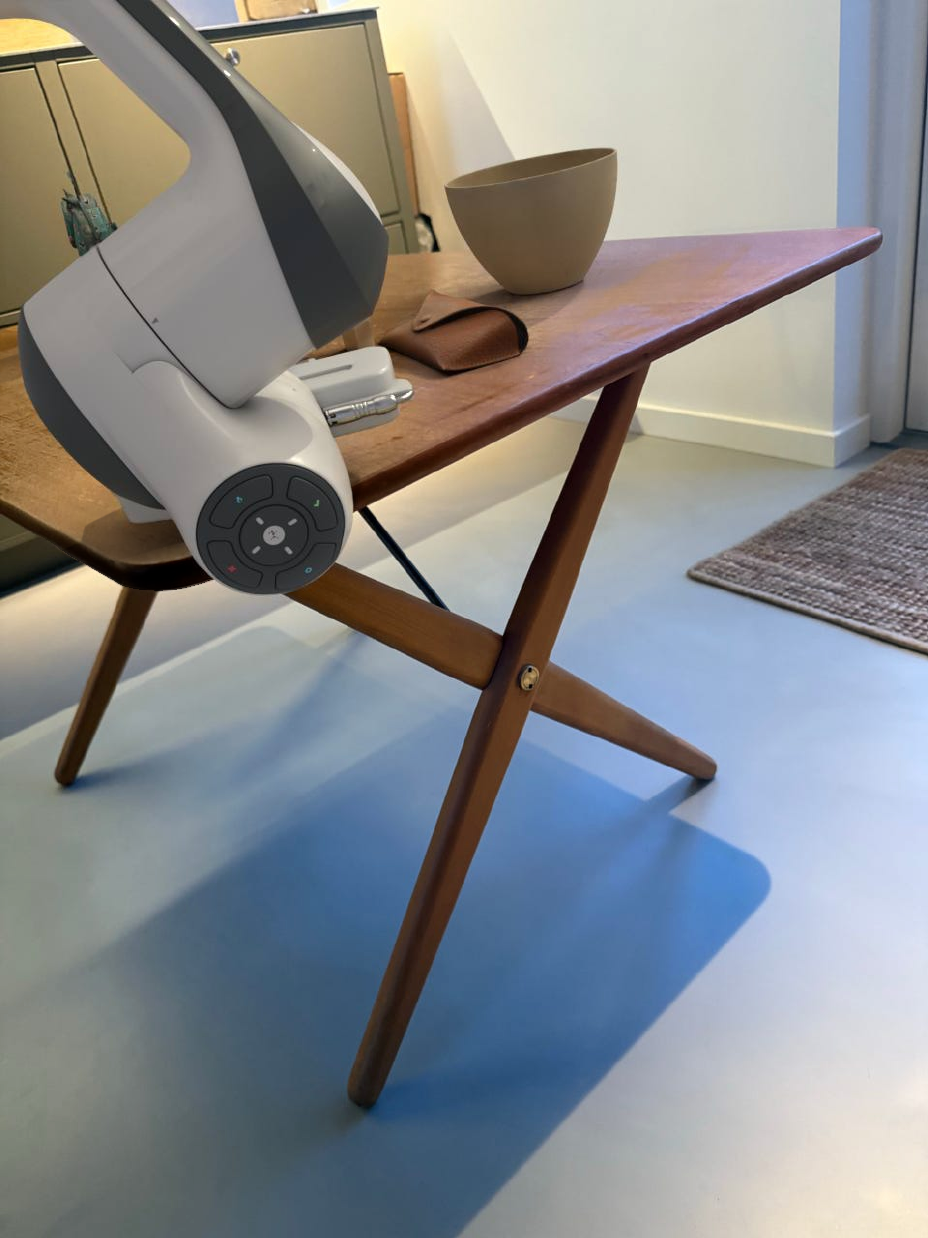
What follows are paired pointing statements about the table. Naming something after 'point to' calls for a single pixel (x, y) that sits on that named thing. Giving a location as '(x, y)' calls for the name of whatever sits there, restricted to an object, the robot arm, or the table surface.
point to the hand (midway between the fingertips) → (243, 387)
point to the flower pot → (537, 216)
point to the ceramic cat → (84, 220)
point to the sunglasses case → (457, 333)
